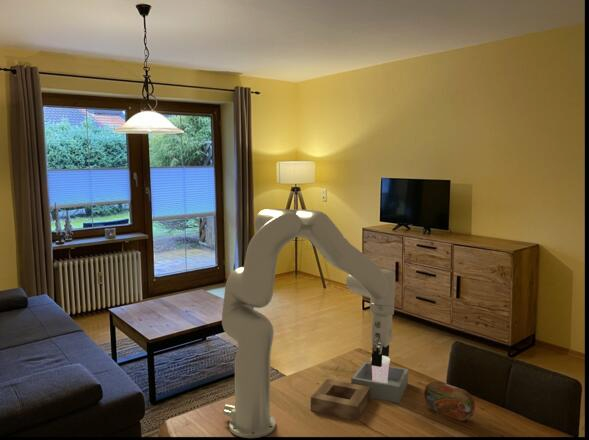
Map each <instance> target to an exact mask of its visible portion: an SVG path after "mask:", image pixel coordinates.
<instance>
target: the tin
mask: <svg viewBox="0 0 589 440" xmlns="http://www.w3.org/2000/svg"><path fill="white" fill-rule="evenodd" d="M423 391H424V393H423V396H424V400H425V402H426V404H427V405H428V407H429V408H430V409H431V410H433V411H434V412H436V413H439V414H441V415H445V416H447V417H449V418H451V419H454V420H457V421H461V422H463V421H466V420H468V419H470V418H471V417H472V416H474V414H475V412H476V403H475V399H474V398H473V396H472V394H471V393H469V392H468V391H467V390H466V389H463V388H460V387H457V386H454V385H451V384H449V383H446V382H443V381H433V382H429V383H428V384H427V385H426V386H425V388H424V390H423Z"/></svg>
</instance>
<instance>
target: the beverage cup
mask: <svg viewBox="0 0 589 440" xmlns="http://www.w3.org/2000/svg"><path fill="white" fill-rule="evenodd" d="M380 344H381V343H380ZM371 359H372V356H371V357H370V360H371ZM390 363H391V358H390V357H389V356H388V357H387V356H383V355H382V366H381V367H378V366H372V381H377V382H382V383H387V381H388V370H389V366H390Z"/></svg>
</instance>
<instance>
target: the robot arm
mask: <svg viewBox="0 0 589 440" xmlns="http://www.w3.org/2000/svg"><path fill="white" fill-rule="evenodd" d="M254 228H255V231H256V233H254V235H253V236H252V238H251V239H250V241H249V243H248V246H247V249H246V252H245V257H244V264H243V266H241V267H240V266H239V267H237V268H235V269H234V270H233V271H231V273H230V274H229V275H228V277H227V280H226V283H225V287H224V297H223V305H222V314H221V326H222V329H223V331H224V333H225V334H226V335H227V336H228V337H230V338H231V339H233V340H234V341H236V343H237V350H236V354H235V359H234V405H233V404H230V403H229V404H228V403H225V405H224V406H223V413H222V414H223V415H224V416H227V417H229V418H230V420H229V422H228V428H229V431H230V432H231V433H232V434H233V435H234V436H237V437H240V438H244V439H245V438H246V439H256V438H263V437H265V436H267V435H270V434H271V433H273V432H274V430H275V428H276V424H277V423H276V421H277V420H276V418H274V416H272V415H271V355H272V354H271V353H272V352H271V351H272V345H273V341H274V335H275V334H274V331H275V330H274V326H273V323H272V321H271V320H270V319H269V318H268V317H267V316H265V315H264V314H262V313H261V312H259V311H257V310H255V309H254V308H257V309H262V308H265V307H267V306H268V305H270V303H271V302H272V299H273V294H274V290H275V289H274V287H275V280H276V272H277V271H276V270H277V263H278V259H279V258H278V257H279V255H280V254H281V252H282V250H283V248H285V246H286V245H287V244H289V243H290V242H292V241H293V240H294V239H296V238H302V239H306V240H308V241H309V242H310V243H311V244H312V245H313V246H314V247H315V248H316V249H317V251H318V252H319V254H321V255H322V257H323V258H324V259H325V261H326V262H327V263H329V264H330V265H331V266H333V267H334V268H336V269H338V270H340V271H342V272H344V273H346V274H347V277H346V279H345V285H346V287H347V289H348V290H350V291H351V293H354V294H357V295H360V296H363V297H367V298H369V299H370V300H369V301H370V302H369V312H370V314H371V315H372V320H371V332H370V333H371V335H370V336H371V337H370V342H371V345H372V347H371V357H372V359H371V358H370V363H371V365H372V366H378V367H381V366H382V355H383V356H386V357H389V356H390V343H391V342H392V341H393V315H394V314H395V292H396V291H395V290H396V273H395V271H393V270H392V269H387V268H380V267H379V266H378V265H377V263H375V262H374V261H373V260H372V259H371V258H369V257H368V256H367V255H365V254H364V253H363V252H362V251H361V250H359V249H358V248H357V247H355V246H354V245H353V244H352V243H351V242H350V241H349V240H348V239H347V237H345V235H344V234H343V232H342V231H341V230H340V229H339V228H338V227H337V226H336V224H335V223H334V222H333V221H332V219H331V218H330V216H328V215H327V214H326V213H325V212H323V211H319V210H311V209H285V208H265V209H262V210H261V211H259V212H258V214H257V215H256V216H255V219H254ZM380 343H381V344H380Z"/></svg>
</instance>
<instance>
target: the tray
mask: <svg viewBox="0 0 589 440" xmlns="http://www.w3.org/2000/svg"><path fill="white" fill-rule="evenodd" d="M350 379H351V380H350V383H352V384H357V385H362V386H368V387H370V399H375V400H376V399H377V400H383V401H386V402H392V403H396V404H397V403H398V404H400V402H401V400H402V397H403V395H404V393H405V391H406V389H407V387H408V385H409V368H404V367H399V366H392V365H389V370H388V381H387V383H382V382H377V381H372V365H371V362H369V361H368V362H367V361H363V362H362V364H361V365H360V366H359V368H358V369H357V370H356V371H355V373H354V374H353V375H352V377H351V378H350Z"/></svg>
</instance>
